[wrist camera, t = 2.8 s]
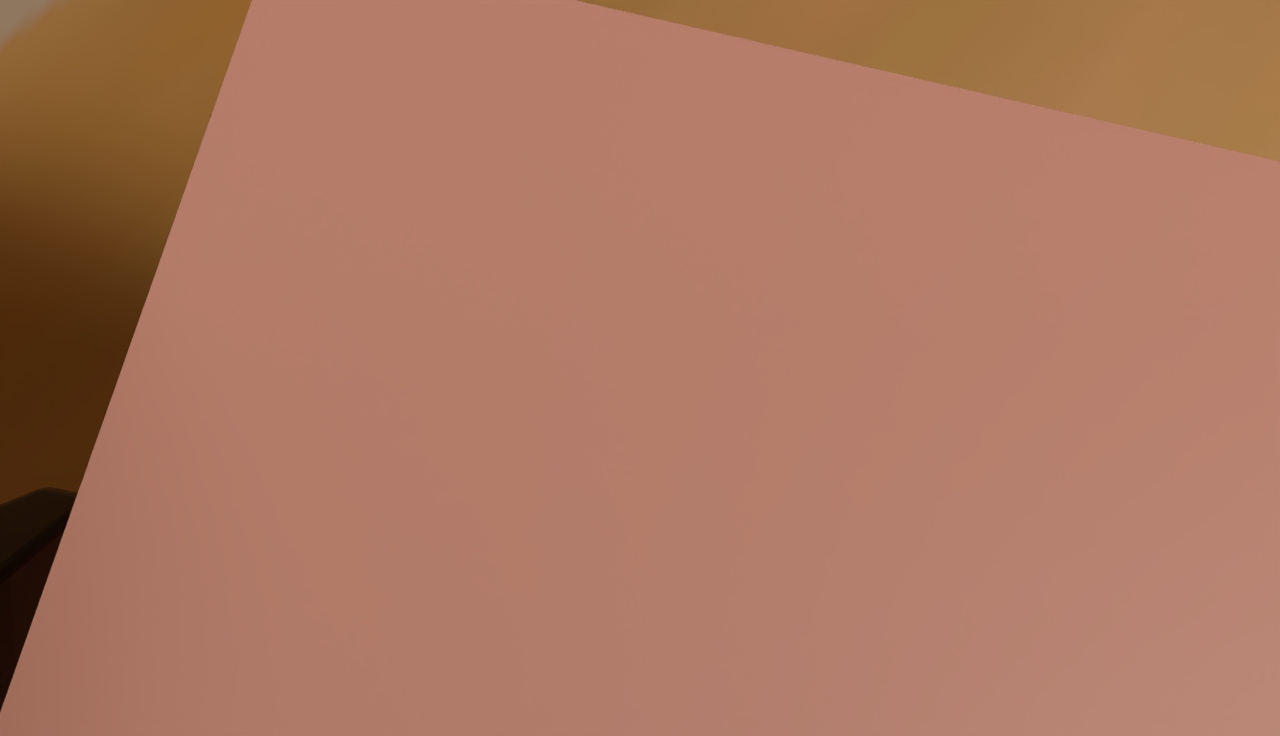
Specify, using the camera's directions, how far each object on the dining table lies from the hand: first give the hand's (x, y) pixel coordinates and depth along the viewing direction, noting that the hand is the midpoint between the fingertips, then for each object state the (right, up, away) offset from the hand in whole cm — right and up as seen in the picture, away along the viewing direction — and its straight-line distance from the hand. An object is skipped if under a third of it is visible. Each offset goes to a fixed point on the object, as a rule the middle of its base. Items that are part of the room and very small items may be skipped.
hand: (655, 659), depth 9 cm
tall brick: (-1, -3, +7) cm, 8 cm away
